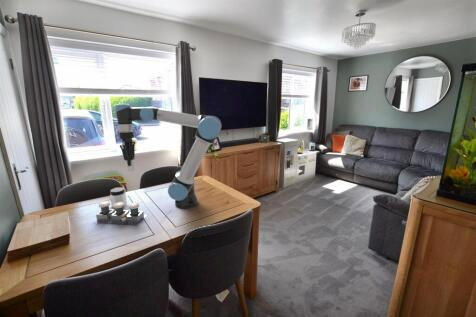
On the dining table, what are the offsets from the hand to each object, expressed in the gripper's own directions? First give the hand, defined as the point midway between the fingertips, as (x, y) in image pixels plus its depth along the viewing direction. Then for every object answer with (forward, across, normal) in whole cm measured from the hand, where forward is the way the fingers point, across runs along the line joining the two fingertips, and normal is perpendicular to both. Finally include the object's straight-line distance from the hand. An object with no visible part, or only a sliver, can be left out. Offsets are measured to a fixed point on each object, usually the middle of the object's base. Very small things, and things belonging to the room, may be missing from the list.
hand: (131, 170), depth 133 cm
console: (+28, +10, -4) cm, 30 cm away
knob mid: (+27, +10, -4) cm, 29 cm away
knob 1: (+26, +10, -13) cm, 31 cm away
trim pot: (+27, +14, 0) cm, 30 cm away
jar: (+28, -8, -15) cm, 33 cm away
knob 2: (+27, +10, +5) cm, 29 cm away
